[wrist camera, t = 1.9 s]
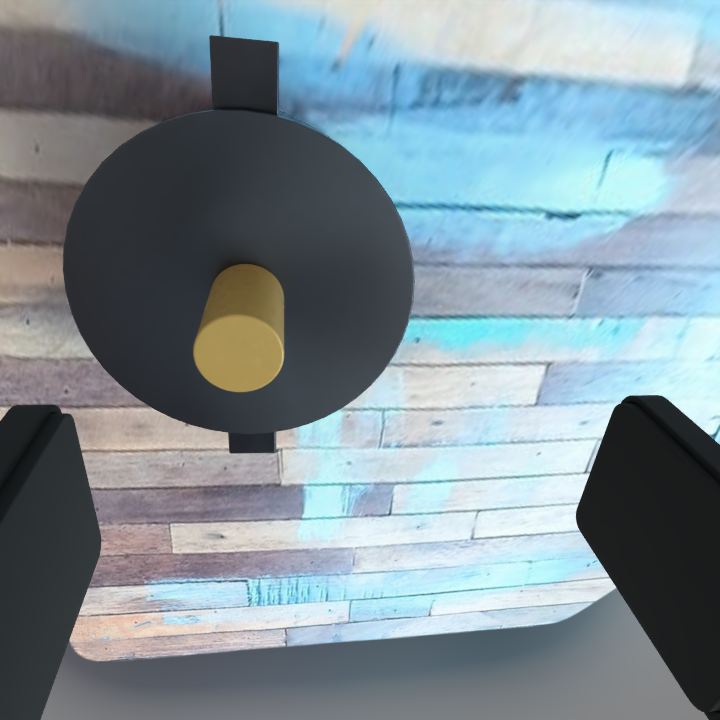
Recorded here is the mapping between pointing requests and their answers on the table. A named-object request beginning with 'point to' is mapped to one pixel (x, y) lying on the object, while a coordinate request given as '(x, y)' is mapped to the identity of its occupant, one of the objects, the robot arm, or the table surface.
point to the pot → (257, 93)
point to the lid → (238, 271)
